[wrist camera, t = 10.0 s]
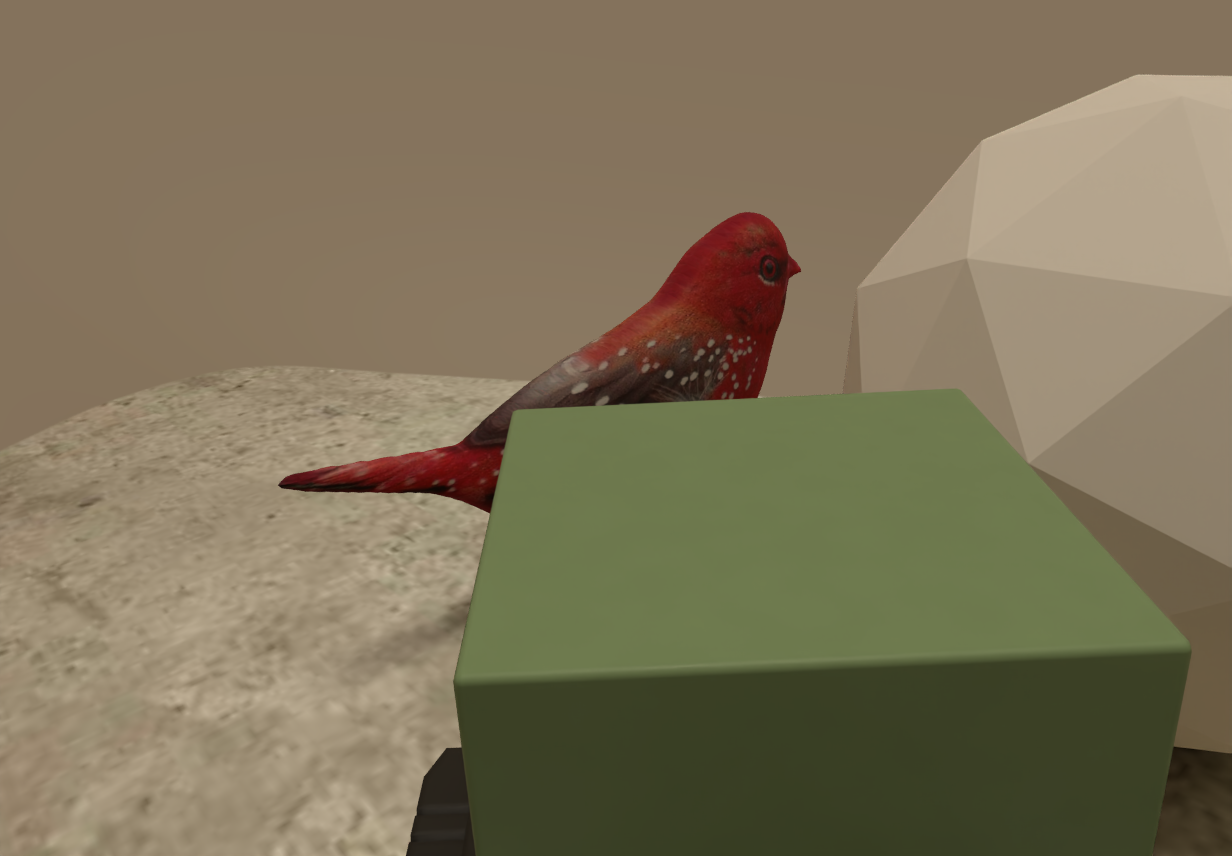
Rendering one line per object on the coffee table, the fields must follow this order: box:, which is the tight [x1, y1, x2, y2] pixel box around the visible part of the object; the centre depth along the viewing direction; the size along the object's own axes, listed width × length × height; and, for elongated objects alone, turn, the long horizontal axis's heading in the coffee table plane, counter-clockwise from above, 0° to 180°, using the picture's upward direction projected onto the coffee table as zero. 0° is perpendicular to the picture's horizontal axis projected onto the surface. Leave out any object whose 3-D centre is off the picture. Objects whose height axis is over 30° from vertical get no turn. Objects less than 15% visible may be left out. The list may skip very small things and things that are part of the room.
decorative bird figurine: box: [278, 212, 801, 513], centre depth 29 cm, size 3×18×10 cm, turn 129°
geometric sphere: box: [843, 75, 1232, 754], centre depth 23 cm, size 14×15×15 cm
